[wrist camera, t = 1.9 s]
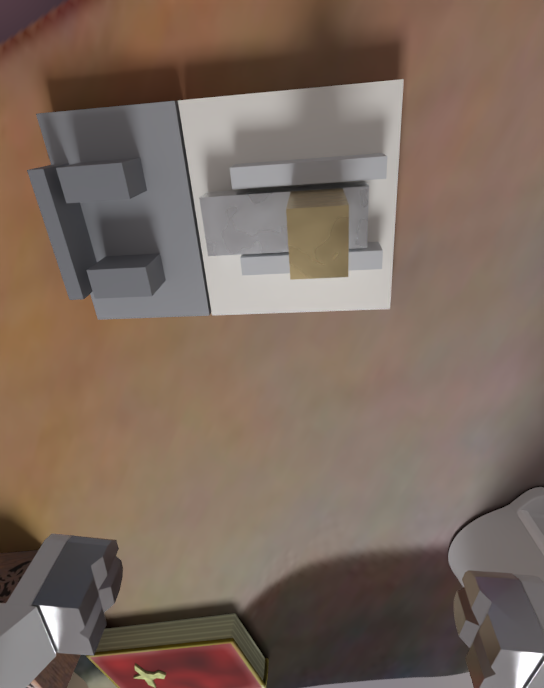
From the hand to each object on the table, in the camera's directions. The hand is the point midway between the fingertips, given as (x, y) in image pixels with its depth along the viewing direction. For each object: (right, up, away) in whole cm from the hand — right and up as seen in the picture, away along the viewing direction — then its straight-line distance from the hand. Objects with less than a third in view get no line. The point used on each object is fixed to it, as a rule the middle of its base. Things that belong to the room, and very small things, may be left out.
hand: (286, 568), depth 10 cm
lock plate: (-3, +15, +20) cm, 25 cm away
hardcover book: (-13, -36, +50) cm, 63 cm away
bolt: (+1, +14, +18) cm, 22 cm away
